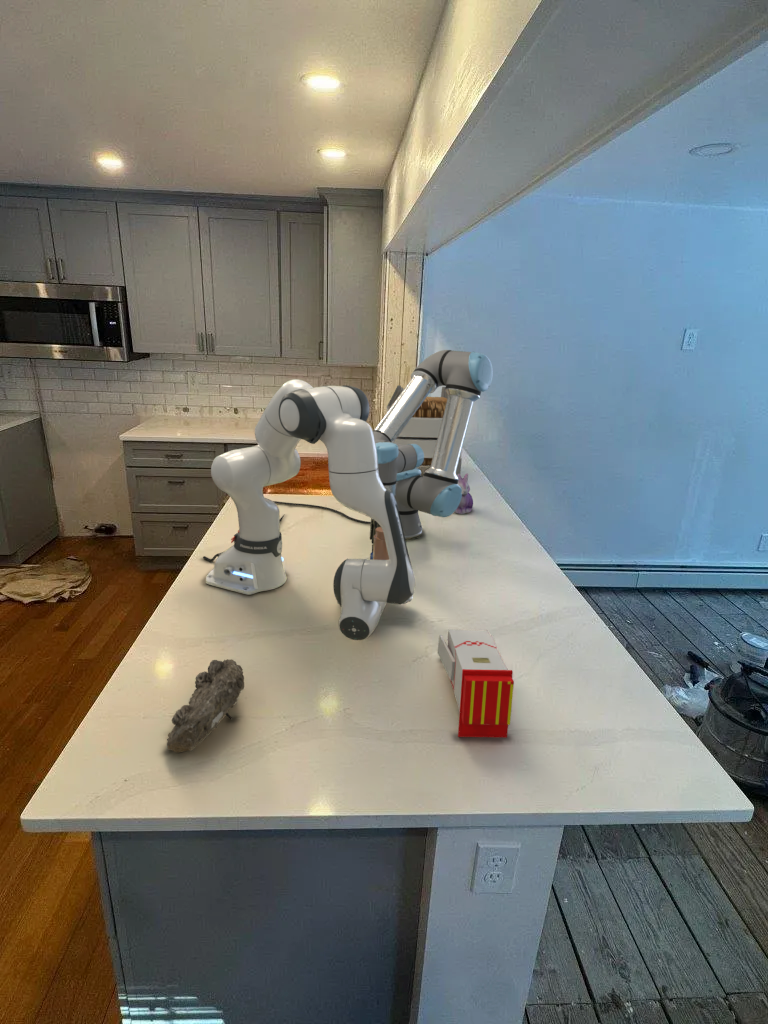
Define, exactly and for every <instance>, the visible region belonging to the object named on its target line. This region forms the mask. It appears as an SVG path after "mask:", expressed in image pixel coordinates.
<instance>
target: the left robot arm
mask: <svg viewBox="0 0 768 1024" xmlns="http://www.w3.org/2000/svg"><path fill="white" fill-rule="evenodd" d="M369 415H370V403H369V399H368V397H367V394H366V393H364V391H363V390H362V389H360V388H358V387H356V386H352V385H345V384H344V385H321V386H316V387H313V386H312V385H311V384H310V383H309V382H307V381H305V380H302V379H297V378H296V379H295V378H294V379H289V380H288V381H286V382H284V384H282V386H280V387H279V389H278V390H277V391H276V392H275V394H274V395H272V397H271V399H270V400H269V402H268V403H267V405H266V407H265V409H264V411H263V412H262V414H261V416H260V417H259V419H258V421H257V423H256V425H255V427H254V438H255V441H256V443H257V444H256V445H253V446H249V447H242V448H236V449H232V450H229V451H226V452H224V453H221V454H220V455H217V456H216V457H215V458H214V459H213V461H212V463H211V467H210V476H211V479H212V481H213V483H214V485H215V487H217V488H218V490H220V491H222V492H223V493H225V494H226V495H228V496H229V497H230V498H231V500H232V502H234V505H235V508H236V512H237V519H238V530H237V532H236V533H235V534H234V535H233V537H231V539H230V543H231V544H232V543H234V544H233V545H231V546H230V547H229V548H227V549H226V550H224V551H221V552H219V553H216V554H214V556H213V557H212V558H210V557H207V556H205V555H203V556H202V559H203V560H206V561H207V562H213V561H214V566H213V569H211V570H210V571H209V572H208V573H207V575H206V576H205V584H206V585H209V586H213V587H217V588H221V589H224V590H228V591H232V592H236V593H239V594H243V595H249V596H250V595H251V596H252V595H254V594H257V593H259V592H266V591H271V590H274V589H278V588H279V587H281V586H283V585H284V584H286V582H287V580H288V579H287V578H288V577H287V574H286V571H285V567H284V563H283V562H284V557H283V556H282V552H283V537H282V532H281V522H280V519H281V517H280V508H279V506H278V505H277V503H274V502H273V501H274V500H271V499H269V498H268V497H265V496H264V491H263V490H264V488H265V487H268V486H272V485H277V484H282V483H284V482H286V481H289V480H291V479H293V478H294V477H296V476H298V474H299V472H300V471H301V465H302V461H301V456H300V453H299V451H298V450H297V446H298V445H299V443H300V441H301V440H303V441H304V442H307V443H308V444H312V445H315V444H317V442H319V441H320V442H322V443H323V444H324V446H325V447H326V452H327V462H328V463H327V466H328V481H329V487H330V492H331V494H332V496H333V497H334V498H335V500H336V501H337V502H338V503H340V504H341V505H342V506H344V507H345V508H346V509H348V510H351V511H354V512H355V513H358V514H361V515H364V516H365V517H368V518H370V519H371V518H372V519H373V520H375V521H376V522H377V523H378V524H379V525H380V526H381V528H382V530H383V533H384V537H385V542H386V546H387V551H388V555H389V560H371V559H370V558H369V559H368V558H346V559H344V560H343V561H342V562H341V563H340V564H339V566H338V567H337V569H336V571H335V573H334V577H333V584H332V585H333V594H334V597H335V600H336V603H337V604H338V606H339V607H340V615H339V621H338V628H339V630H340V633H341V634H342V635H343V636H344V637H345V638H347V639H349V640H352V641H363V640H366V639H368V638H369V637H370V636H371V635H372V634H373V633H374V632H375V630H376V628H377V626H378V624H379V622H380V621H381V620H380V619H381V616H382V614H383V612H384V611H385V608H386V605H387V603H388V604H395V605H402V604H403V605H405V604H407V603H410V602H412V600H413V598H414V594H415V589H416V576H415V572H414V568H413V566H412V562H411V558H410V555H409V551H408V546H407V540H405V536H404V532H403V527H402V522H401V518H400V514H399V510H398V506H397V503H396V500H395V497H394V495H393V493H391V492H389V491H388V490H386V488H385V487H384V485H383V484H382V482H381V479H380V476H379V471H378V457H377V449H376V444H375V439H374V435H373V428H372V426H371V424H370V423H368V422H367V421H368V418H369Z"/></svg>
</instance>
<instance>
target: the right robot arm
mask: <svg viewBox="0 0 768 1024" xmlns="http://www.w3.org/2000/svg"><path fill="white" fill-rule="evenodd" d="M492 381H493V365H492V362H491V360H490V358H489V357H488V356H487V355H486V354H485V353H480V352H476V351H463V350H452V349H442V350H439V351H436V352H434V353H432V354H430V355H429V356H427V357H426V358H425V359H424V360H423V361H421V362H420V363H419V364H418V365H417V366H416V367H415V368H414V370H413V371H412V373H411V374H410V380H409V382H408V383H407V385H406V386H405V387H404V388H403V389H404V390H403V391H402V392H401V394H400V395H399V396H398V398H397V399H396V401H395V402H394V403H393V405H392V406H391V407H390V409H389V410H388V411H387V410H386V412H387V413H386V412H385V414H384V415H383V417H382V418H381V419H380V421H379V422H378V423H377V424H376V426H375V427H374V428H373V429H372V431H373V435H374V439H375V444H376V449H377V457H378V471H379V476H380V479H381V482H382V484H383V485H384V487H385V488H386V490H388V491H389V492H391V493H393V495H394V497H395V500H396V503H397V506H398V510H399V514H400V518H401V522H402V527H403V532H404V536H405V541H410V540H415V539H418V538H420V537H421V536H422V535H423V525H422V523H421V518H420V515H419V512H422V513H425V514H429V515H431V516H433V517H440V518H448V517H450V516H452V515H453V514H454V513H455V510H456V509H457V507H458V506H459V504H460V501H461V498H462V493H461V492H462V489H461V487H460V486H459V485H458V480H459V479H458V477H457V475H456V470H457V466H458V462H459V458H460V454H461V455H462V453H461V450H462V451H463V445H464V442H465V438H466V434H467V431H468V427H469V423H470V418H471V414H472V411H473V407H474V403H475V401H477V400H479V399H480V398H481V395H482V393H484V392H486V391H488V390H489V388H490V387H491V384H492ZM439 387H446V388H445V391H446V393H447V394H448V399H447V403H446V407H445V411H444V415H443V419H442V423H441V427H440V431H439V435H438V439H437V442H436V446H435V450H434V454H433V458H432V462H431V465H430V466H429V468H427V469H426V470H424V472H423V475H422V470H421V469H420V468H419V467H422V466H421V465H422V463H423V461H424V452H423V450H422V448H421V447H420V446H418V445H417V444H407V445H401V444H397V443H394V441H395V440H396V438H397V437H398V436H399V434H400V433H401V432H402V430H403V429H404V427H405V426H406V425H407V423H408V422H409V421H410V419H411V418H412V416H413V415H414V414H415V412H416V411H417V410H418V408H419V407H420V405H421V404H422V403H423V401H424V400H425V399H426V397H429V394H433V393H434V392H436V390H437V389H438V388H439ZM272 501H273V502H274V503H275V504H276V505H277V504H279V505H287V506H299V507H308V508H309V507H310V508H317V509H323V510H327V511H331V512H334V513H337V514H339V515H341V516H343V517H345V518H346V519H349V520H351V521H354V522H357V523H362V524H367V525H370V527H369V528H370V529H369V540H370V543H371V544H372V545H371V552H373V545H374V535H375V534H376V530H375V529H376V528H377V527H381V526H380V525H379V524H378V523H377V522H376V521H375V520H373V519H372V518H370V521H365V520H361V519H357V518H354V517H352V516H349V515H347V514H345V513H343V512H342V511H339V510H338V509H337V510H336V509H334V508H330V507H326V506H322V505H316V504H307V503H297V502H296V503H295V502H287V501H285V502H284V501H276V500H272Z"/></svg>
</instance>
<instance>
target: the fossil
mask: <svg viewBox="0 0 768 1024" xmlns="http://www.w3.org/2000/svg"><path fill="white" fill-rule="evenodd" d="M243 670H244V669H243V667H242V665H240V664H237V662H236V661H235V660H234V659H232V658H231V659H227V658H226V659H224V660H223V661H222V660H217V659H212V660H211V661H210V663H209V665H208V666H207V671H201V672H199V673H198V674H197V675H196V676H195V680H194V684H195V685H194V687H195V689H194V690H193V693H192V694H191V697H190V698H189V700H188V704H184V705H182V706H181V707H180V709H177V710H176V711H175V713H174V715H173V716H172V718H171V723H172V724H173V727H172V730H171V731H170V732H168V734H167V738H166V741H167V742H166V745H167V749H168V750H169V751H173V752H174V753H176V754H178V753H182V752H188V751H189V752H192V751H193V750H195V748H196V747H197V746H199V744H200V743H201V742H203V741H204V740H205V739H206V738H207V737H208V736H209V735H210V734H211V733H212V732H214V730H215V729H217V727H218V726H219V724H220V722H221V721H222V720H223V719H224V718H225V716H226V717H227V719H229V720H233V717H232V715H230V714H229V710H230V709H231V708H234V706H235V704H236V703H237V702H238V699H239V697H240V695H241V693H242V691H243V690H245V689H244V688H245V675H244V671H243Z"/></svg>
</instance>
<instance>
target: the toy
mask: <svg viewBox="0 0 768 1024" xmlns="http://www.w3.org/2000/svg"><path fill="white" fill-rule="evenodd" d="M446 640H447V643H446V641H445V639H444V636H443V635H442V634H439V637H438V646H437V656H438V657H439V659H440V661H441V663H442V666H443V668H444V670H445V672H446V674H447V677H448V679H449V681H450V684H451V687H452V690H453V693H454V697H455V701H456V705H457V708H458V711H459V714H458V715H459V716H458V730H457V731H458V732H457V737H458V738H508V731H509V726H510V725H511V717H512V707H513V697H514V696H513V695H514V684H515V680H514V679H513V673H514V671H513V670H512V669H508V667H507V665H506V662H505V661H504V659H503V658H502V655H501V653H500V651H499V649H498V647H497V643H496V639H495V637H494V635H493V634H491V632H490V631H489V629H467V628H466V629H465V628H463V629H461V628H460V629H459V628H448V630H447V639H446Z"/></svg>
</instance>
